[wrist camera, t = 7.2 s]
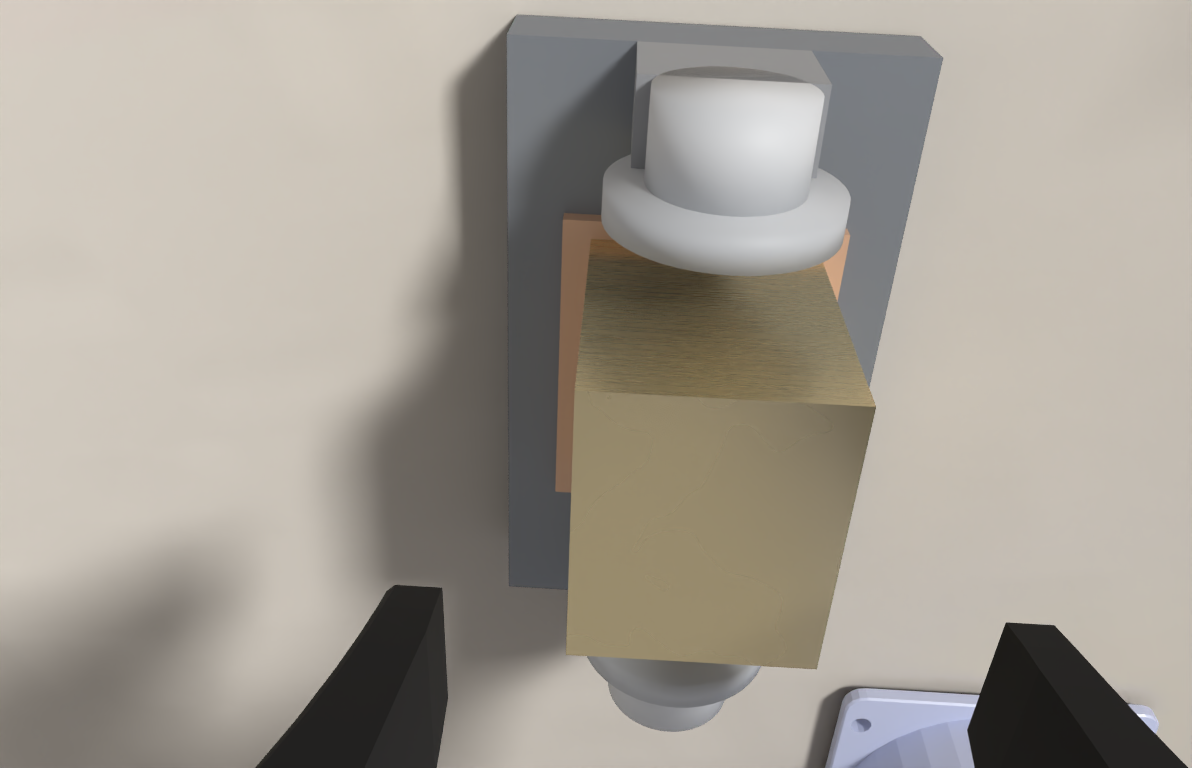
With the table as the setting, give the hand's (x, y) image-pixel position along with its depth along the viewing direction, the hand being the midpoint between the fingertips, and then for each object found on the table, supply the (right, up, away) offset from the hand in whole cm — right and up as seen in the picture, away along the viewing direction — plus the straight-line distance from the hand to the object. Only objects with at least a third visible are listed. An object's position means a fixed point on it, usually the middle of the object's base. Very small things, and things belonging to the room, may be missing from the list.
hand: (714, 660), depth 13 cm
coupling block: (0, +4, +6) cm, 7 cm away
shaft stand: (0, +5, +8) cm, 9 cm away
